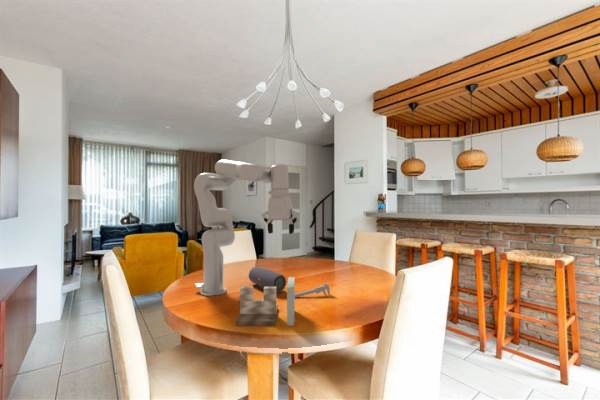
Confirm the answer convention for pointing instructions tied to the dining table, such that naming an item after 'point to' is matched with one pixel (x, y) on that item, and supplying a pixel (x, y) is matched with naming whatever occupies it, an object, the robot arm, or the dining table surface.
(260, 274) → the bluetooth speaker
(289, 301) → the slotted plate
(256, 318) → the slotted stand
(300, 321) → the dining table surface
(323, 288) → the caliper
